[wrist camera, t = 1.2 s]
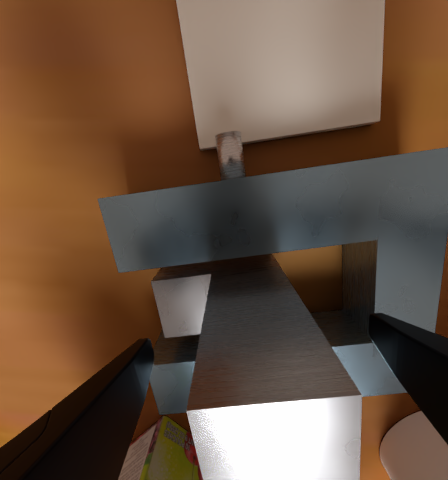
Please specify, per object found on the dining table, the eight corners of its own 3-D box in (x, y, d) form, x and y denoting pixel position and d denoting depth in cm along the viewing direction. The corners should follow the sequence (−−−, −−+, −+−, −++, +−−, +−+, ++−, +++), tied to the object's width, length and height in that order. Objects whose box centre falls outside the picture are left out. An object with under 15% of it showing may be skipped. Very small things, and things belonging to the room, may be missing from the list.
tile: (379, -116, 9) (390, -137, 8) (372, 124, 11) (380, 120, 10) (166, -70, 9) (162, -87, 9) (201, 150, 11) (199, 149, 11)
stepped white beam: (271, 252, 13) (362, 395, 4) (275, 303, 14) (358, 509, 5) (163, 265, 13) (38, 424, 4) (174, 314, 14) (87, 526, 5)
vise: (402, 114, 11) (466, 88, 8) (387, 349, 14) (427, 390, 12) (119, 158, 12) (83, 149, 9) (172, 371, 15) (159, 414, 12)
